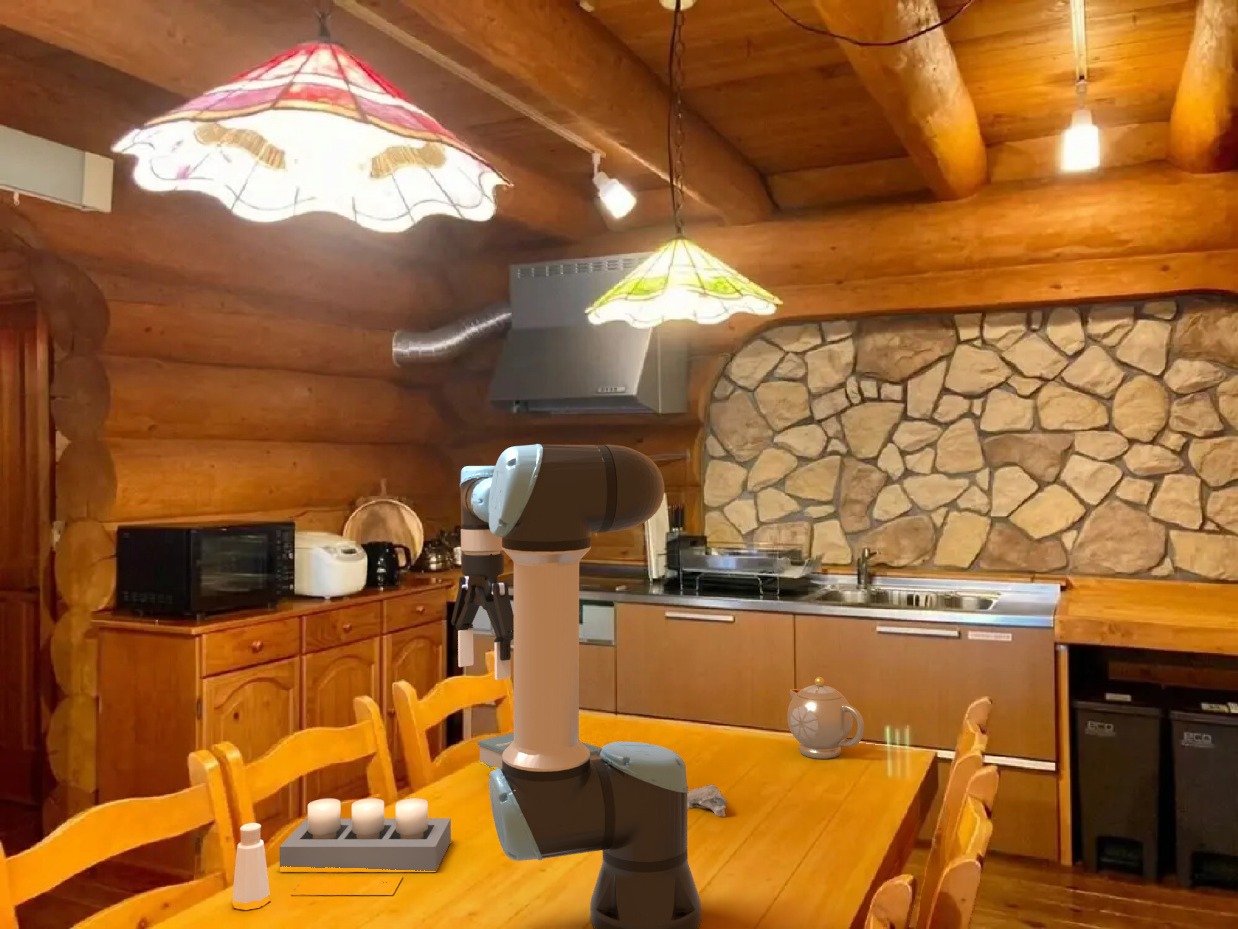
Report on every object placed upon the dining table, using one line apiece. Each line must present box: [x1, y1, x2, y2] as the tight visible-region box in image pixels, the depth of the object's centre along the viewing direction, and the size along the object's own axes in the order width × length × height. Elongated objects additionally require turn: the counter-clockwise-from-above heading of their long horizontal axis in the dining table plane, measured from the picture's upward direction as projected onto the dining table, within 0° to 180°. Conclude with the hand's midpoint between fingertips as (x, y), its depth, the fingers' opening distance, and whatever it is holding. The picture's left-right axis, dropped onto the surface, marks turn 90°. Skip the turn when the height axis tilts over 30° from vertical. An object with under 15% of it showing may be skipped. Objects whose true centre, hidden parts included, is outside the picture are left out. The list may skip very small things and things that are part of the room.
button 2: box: [395, 797, 429, 839], centre depth 157 cm, size 5×5×6 cm
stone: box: [687, 784, 728, 818], centre depth 178 cm, size 6×12×4 cm, turn 9°
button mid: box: [351, 797, 385, 839], centre depth 157 cm, size 5×5×6 cm
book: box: [477, 732, 603, 769], centre depth 203 cm, size 23×16×5 cm
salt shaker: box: [232, 822, 271, 903], centre depth 141 cm, size 5×5×11 cm
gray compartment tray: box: [278, 817, 452, 872], centre depth 157 cm, size 12×24×4 cm, turn 89°
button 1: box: [307, 798, 342, 839], centre depth 157 cm, size 5×5×6 cm
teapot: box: [786, 676, 865, 760], centre depth 209 cm, size 18×14×16 cm
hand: (483, 672), depth 176 cm, fingers open, 13 cm apart
